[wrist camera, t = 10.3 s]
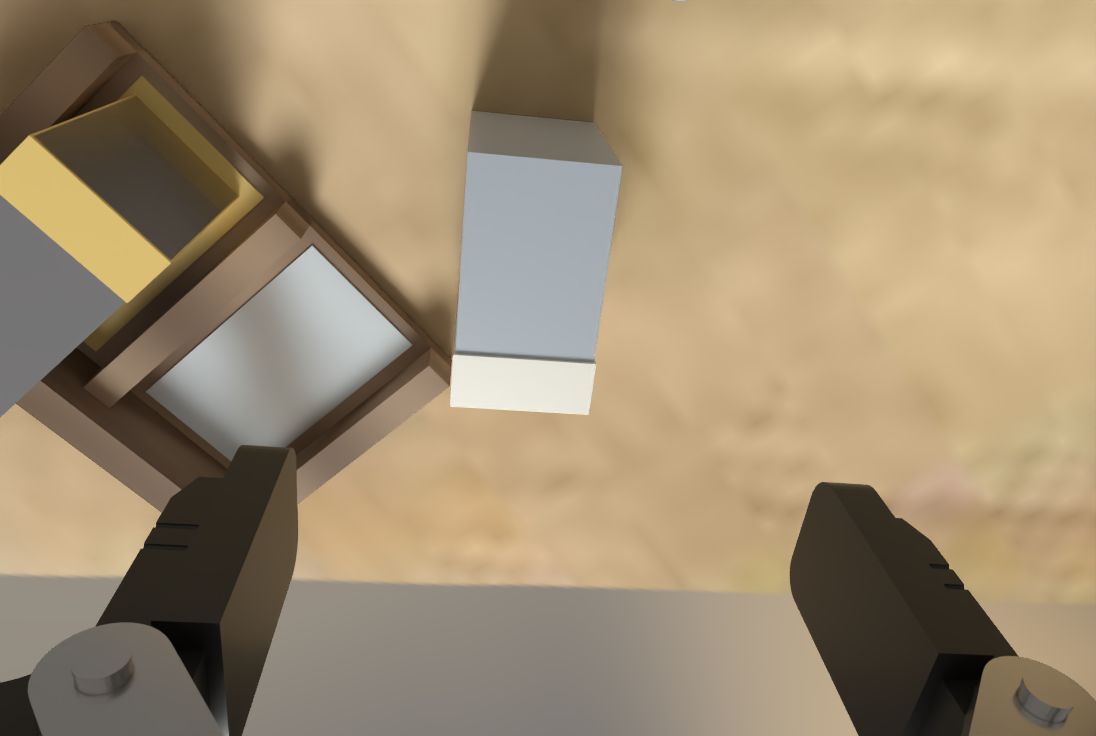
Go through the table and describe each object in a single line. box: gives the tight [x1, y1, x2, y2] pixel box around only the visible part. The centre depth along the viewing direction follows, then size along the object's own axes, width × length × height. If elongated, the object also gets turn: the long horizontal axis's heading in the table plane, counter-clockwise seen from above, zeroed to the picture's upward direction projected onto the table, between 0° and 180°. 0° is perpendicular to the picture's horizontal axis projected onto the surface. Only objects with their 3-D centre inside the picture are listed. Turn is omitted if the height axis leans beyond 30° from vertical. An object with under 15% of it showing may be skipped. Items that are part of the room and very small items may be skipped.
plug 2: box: [450, 111, 622, 415], centre depth 24 cm, size 7×4×6 cm, turn 174°
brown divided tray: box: [0, 21, 452, 512], centre depth 26 cm, size 10×14×3 cm
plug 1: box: [0, 94, 239, 417], centre depth 22 cm, size 7×4×6 cm, turn 129°
